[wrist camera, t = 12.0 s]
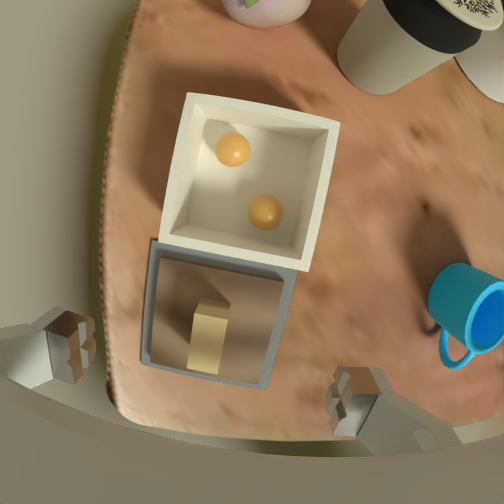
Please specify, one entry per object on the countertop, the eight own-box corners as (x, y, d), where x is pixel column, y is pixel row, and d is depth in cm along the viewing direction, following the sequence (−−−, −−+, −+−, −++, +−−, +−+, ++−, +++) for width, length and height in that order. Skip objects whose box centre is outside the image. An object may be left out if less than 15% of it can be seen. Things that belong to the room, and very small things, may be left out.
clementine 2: (251, 191, 29) (251, 191, 26) (284, 198, 30) (288, 199, 26) (244, 223, 30) (243, 228, 27) (277, 230, 30) (280, 235, 27)
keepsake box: (201, 112, 28) (187, 92, 22) (321, 135, 29) (340, 122, 22) (178, 229, 31) (158, 242, 24) (296, 253, 31) (308, 271, 24)
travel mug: (405, 101, 28) (518, 50, 10) (337, 89, 28) (419, 4, 10) (399, 40, 26) (488, -35, 9) (334, 26, 26) (393, -78, 9)
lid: (162, 255, 31) (147, 267, 26) (283, 279, 32) (288, 296, 27) (152, 358, 33) (139, 381, 29) (257, 379, 34) (258, 406, 29)
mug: (440, 256, 31) (482, 274, 23) (483, 268, 32) (524, 287, 24) (407, 349, 34) (437, 384, 26) (452, 352, 34) (484, 383, 26)
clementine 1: (220, 132, 28) (216, 126, 25) (253, 138, 28) (253, 133, 25) (213, 164, 29) (209, 162, 26) (246, 171, 29) (246, 169, 26)
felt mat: (152, 239, 31) (151, 240, 31) (297, 268, 32) (298, 269, 31) (141, 362, 34) (141, 363, 34) (265, 388, 35) (265, 389, 34)
